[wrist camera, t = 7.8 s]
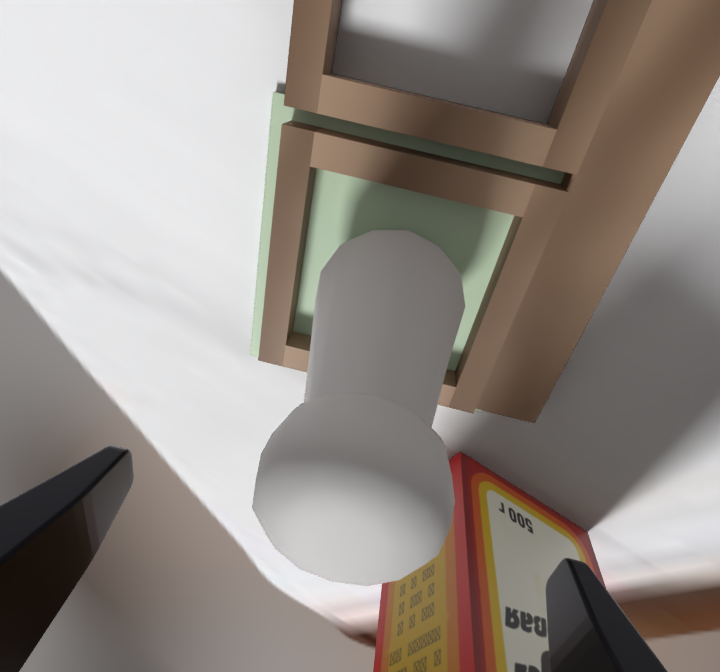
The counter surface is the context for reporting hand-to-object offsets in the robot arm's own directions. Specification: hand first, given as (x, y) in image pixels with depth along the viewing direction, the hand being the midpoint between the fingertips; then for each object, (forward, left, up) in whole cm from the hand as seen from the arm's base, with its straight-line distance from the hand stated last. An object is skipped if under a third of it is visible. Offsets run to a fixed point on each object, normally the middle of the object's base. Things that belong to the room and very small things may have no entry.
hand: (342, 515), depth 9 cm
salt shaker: (0, 0, -13) cm, 13 cm away
